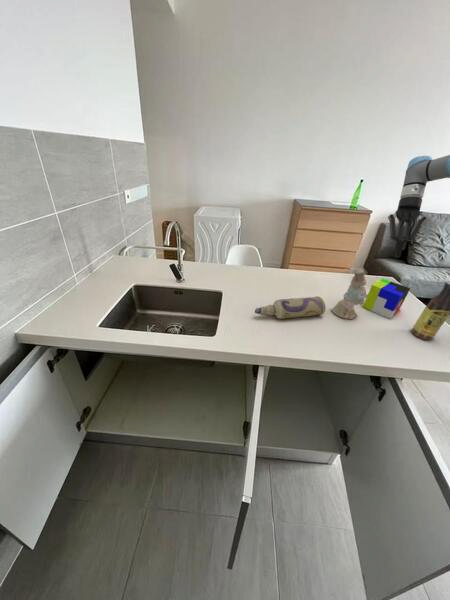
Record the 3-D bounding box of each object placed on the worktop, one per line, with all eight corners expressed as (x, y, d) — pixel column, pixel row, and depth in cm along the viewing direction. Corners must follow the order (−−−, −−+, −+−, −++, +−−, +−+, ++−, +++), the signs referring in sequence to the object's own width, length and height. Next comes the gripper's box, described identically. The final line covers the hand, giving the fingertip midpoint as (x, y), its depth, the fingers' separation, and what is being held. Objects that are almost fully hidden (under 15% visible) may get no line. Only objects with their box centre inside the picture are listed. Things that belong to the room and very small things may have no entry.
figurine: (338, 320, 89) (356, 270, 78) (328, 307, 96) (344, 260, 85) (361, 320, 89) (382, 271, 79) (350, 308, 96) (368, 261, 86)
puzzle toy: (389, 318, 91) (400, 295, 86) (362, 306, 98) (371, 284, 92) (399, 310, 97) (410, 288, 92) (373, 299, 103) (382, 278, 98)
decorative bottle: (313, 307, 96) (317, 292, 92) (323, 318, 89) (328, 303, 86) (250, 311, 91) (252, 296, 87) (256, 324, 84) (259, 308, 81)
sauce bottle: (418, 340, 81) (450, 288, 71) (407, 328, 86) (435, 278, 76) (437, 341, 81) (472, 289, 71) (425, 329, 86) (456, 280, 76)
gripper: (395, 194, 96) (381, 253, 99) (434, 196, 92) (419, 258, 95) (389, 201, 103) (376, 256, 106) (425, 203, 99) (411, 260, 102)
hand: (397, 257), depth 100 cm, fingers closed
